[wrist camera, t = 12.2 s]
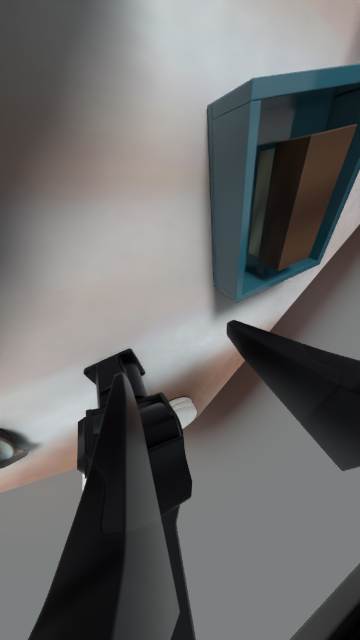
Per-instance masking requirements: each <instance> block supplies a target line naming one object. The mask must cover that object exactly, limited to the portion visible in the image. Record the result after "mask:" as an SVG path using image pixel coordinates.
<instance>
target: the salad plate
mask: <svg viewBox="0 0 360 640" xmlns="http://www.w3.org/2000/svg"><path fill="white" fill-rule="evenodd" d="M29 451H30V450H27V451H26V450H22V449H20V448H18V447H17V446H16V445H15V443H14V442H13V441H12V440H11V439H10V437H9V436H8V435H7V434H6V433H5V432H4V431H3V430H1V429H0V468H4V467H6V466H8V465H10V464H12V463H14V462H16V461H18V460H20V459H22V458H23V457H25V456H26V455H27V454H28V452H29Z"/></svg>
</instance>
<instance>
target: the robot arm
mask: <svg viewBox="0 0 360 640" xmlns="http://www.w3.org/2000/svg"><path fill="white" fill-rule="evenodd" d="M227 335H228V337H229V338H230V340H231V341H232V343H233V344H234V346H235V347H236V348H237V350H238V351H239V353H240V354H241V356H242V357H243V358H244V359H245V360H246V362H247V363H248V364H249V365H250V366H251V367H252V368H253V370H254V371H255V372H256V373H257V374H258V375H259V376H260V378H261V379H262V380H263V381H264V382H265V383H266V385H267V386H268V387H269V388H270V389H271V390H272V391H273V393H274V394H275V395H276V396H277V397H278V398H279V399H280V401H281V402H282V403H283V404H284V405H285V406H286V407H287V409H288V410H289V411H290V412H291V413H292V414H293V415H294V417H295V418H296V419H297V420H298V421H299V422H300V424H301V425H302V426H303V427H304V428H305V429H306V431H307V432H308V433H309V434H310V435H311V436H312V437H313V439H314V440H315V441H316V442H317V443H318V444H319V445H320V447H321V448H322V449H323V450H324V451H325V452H326V453H327V455H328V456H329V457H330V458H331V459H332V460H333V462H334V463H335V464H336V465H337V466H338V467H339V468H340V469H341V470H342V471H345V470H349V469H353V468H356V467H360V361H359V360H355V359H352V358H348V357H344V356H340V355H337V354H334V353H330V352H326V351H323V350H320V349H317V348H314V347H311V346H308V345H305V344H302V343H299V342H297V341H294V340H291V339H288V338H285V337H282V336H279V335H276V334H273V333H270V332H268V331H265V330H262V329H259V328H256V327H253V326H250V325H247V324H245V323H242V322H239V321H236V320H232V321H230V322H228V323H227ZM128 352H129V353H128ZM144 374H145V370H144V369H143V367H142V365H141V364H140V362H139V361H138V359H137V357H136V356H135V354H134V352H133V351H132V349H127V350H125V351H122V352H120V353H118V354H116V355H114V356H111V357H109V358H107V359H105V360H103V361H100V362H98V363H96V364H94V365H92V366H90V367H87V368H85V369H84V375H86V376H87V377H88V378H89V379H90V380H91V381H92V382H93V383H95V384H96V387H97V400H98V409H93V410H92V409H90V410H86V417H84V418H83V419H82V420H80V421H79V422H78V455H77V470H79V471H80V472H82V473H83V474H84V475H85V479H86V478H87V479H86V483H85V486H84V490H83V493H82V497H81V500H80V503H79V506H78V509H77V512H76V515H75V518H74V521H73V524H72V527H71V530H70V533H69V535H68V538H67V541H66V544H65V547H64V550H63V553H62V556H61V559H60V561H59V564H58V567H57V570H56V573H55V576H54V579H53V582H52V584H51V587H50V590H49V593H48V596H47V598H46V601H45V603H44V606H43V608H42V610H41V613H40V615H39V618H38V620H37V622H36V624H35V626H34V628H33V630H32V632H31V635H30V637H29V639H28V640H196V639H195V632H194V626H193V621H192V614H191V609H190V603H189V597H188V591H187V585H186V579H185V573H184V567H183V561H182V556H181V550H180V544H179V538H178V531H177V518H178V513H179V508H180V504H182V503H183V502H185V501H186V500H188V499H189V498H190V497H191V491H192V479H191V475H190V472H189V468H188V464H187V461H186V455H185V449H184V437H183V430H182V426H181V422H180V420H179V418H178V416H177V414H176V413H175V411H174V410H173V408H172V407H171V405H170V404H169V402H168V400H167V399H166V397H165V396H164V394H163V393H162V392H160V393H158V394H155V395H151V396H147V394H146V391H145V388H144V385H143V381H142V378H141V376H143V375H144ZM290 640H360V564H359V565H358V566H357V567H356V568H355V569H354V570H353V571H352V572H351V573H350V574H349V575H348V577H347V578H346V579H345V580H344V581H343V582H342V583H341V584H340V585H339V587H337V589H336V590H335V591H334V592H333V593H332V594H331V595H330V596H329V597H328V598H327V599H326V601H325V602H324V603H323V604H322V605H321V606H320V607H319V608H318V609H317V610H316V612H315V613H314V614H313V615H312V616H311V617H310V618H309V619H308V620H307V621H306V622H305V623H304V625H303V626H302V627H301V628H300V629H299V630H298V631H297V632H296V633H295V634H294V635H293V637H292V638H291V639H290Z"/></svg>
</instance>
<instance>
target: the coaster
mask: <svg viewBox="0 0 360 640" xmlns="http://www.w3.org/2000/svg"><path fill="white" fill-rule="evenodd" d="M169 404H170V405H171V407H172V408H173V410H174V411H175V413H176V414H177V416H178V418H179V420H180V422H181V426H182V429H183V428H184V427H186V426H187V425H188V424H190V423H191V422H192V421H193V420H194V418H195V417H196V414H197V411H196V409H195V408H194V405H193V404H192V401H191V399H189V398H187V397H181V398H177V399H174V400H172V401H170V402H169Z"/></svg>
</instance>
